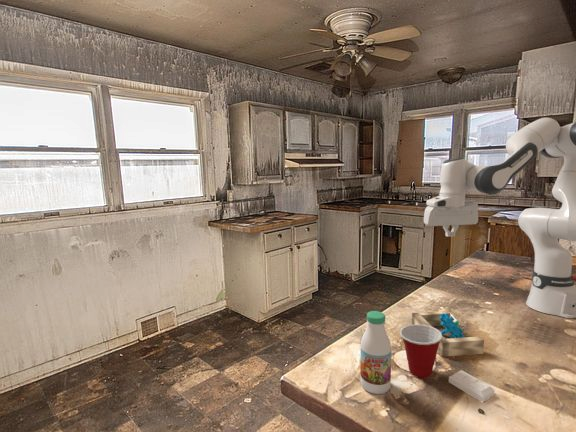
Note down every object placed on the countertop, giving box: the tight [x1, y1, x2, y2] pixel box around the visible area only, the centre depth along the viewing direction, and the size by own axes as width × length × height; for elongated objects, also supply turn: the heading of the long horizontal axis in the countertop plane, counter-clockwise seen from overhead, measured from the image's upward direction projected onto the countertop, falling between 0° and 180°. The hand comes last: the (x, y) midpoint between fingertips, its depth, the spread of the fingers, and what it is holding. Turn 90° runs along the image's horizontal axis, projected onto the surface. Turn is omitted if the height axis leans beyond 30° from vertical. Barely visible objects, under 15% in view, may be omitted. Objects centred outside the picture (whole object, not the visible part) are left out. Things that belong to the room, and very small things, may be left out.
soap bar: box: [448, 370, 495, 403], centre depth 84 cm, size 5×9×3 cm, turn 30°
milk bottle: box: [359, 310, 392, 395], centre depth 84 cm, size 8×8×20 cm
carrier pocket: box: [411, 310, 485, 358], centre depth 107 cm, size 13×20×4 cm, turn 4°
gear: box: [439, 313, 466, 339], centre depth 109 cm, size 11×6×10 cm
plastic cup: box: [399, 324, 443, 379], centre depth 90 cm, size 11×11×12 cm
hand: (450, 236), depth 126 cm, fingers closed
